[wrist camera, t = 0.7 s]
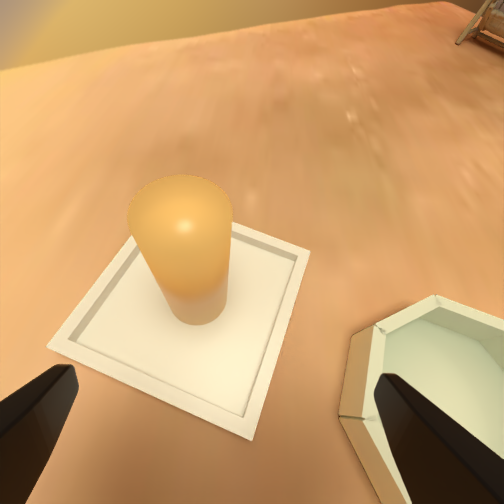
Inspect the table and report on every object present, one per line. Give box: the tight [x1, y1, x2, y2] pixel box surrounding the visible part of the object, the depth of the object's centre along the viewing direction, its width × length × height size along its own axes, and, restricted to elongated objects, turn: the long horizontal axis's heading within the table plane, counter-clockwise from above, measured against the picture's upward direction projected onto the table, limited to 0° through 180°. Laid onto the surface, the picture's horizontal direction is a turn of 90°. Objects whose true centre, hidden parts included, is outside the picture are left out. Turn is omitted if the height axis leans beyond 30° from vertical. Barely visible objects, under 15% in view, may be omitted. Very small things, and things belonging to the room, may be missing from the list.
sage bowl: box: [338, 295, 504, 504], centre depth 20 cm, size 16×16×4 cm
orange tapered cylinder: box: [127, 175, 233, 325], centre depth 18 cm, size 5×5×12 cm
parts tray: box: [46, 222, 310, 441], centre depth 23 cm, size 16×16×2 cm
